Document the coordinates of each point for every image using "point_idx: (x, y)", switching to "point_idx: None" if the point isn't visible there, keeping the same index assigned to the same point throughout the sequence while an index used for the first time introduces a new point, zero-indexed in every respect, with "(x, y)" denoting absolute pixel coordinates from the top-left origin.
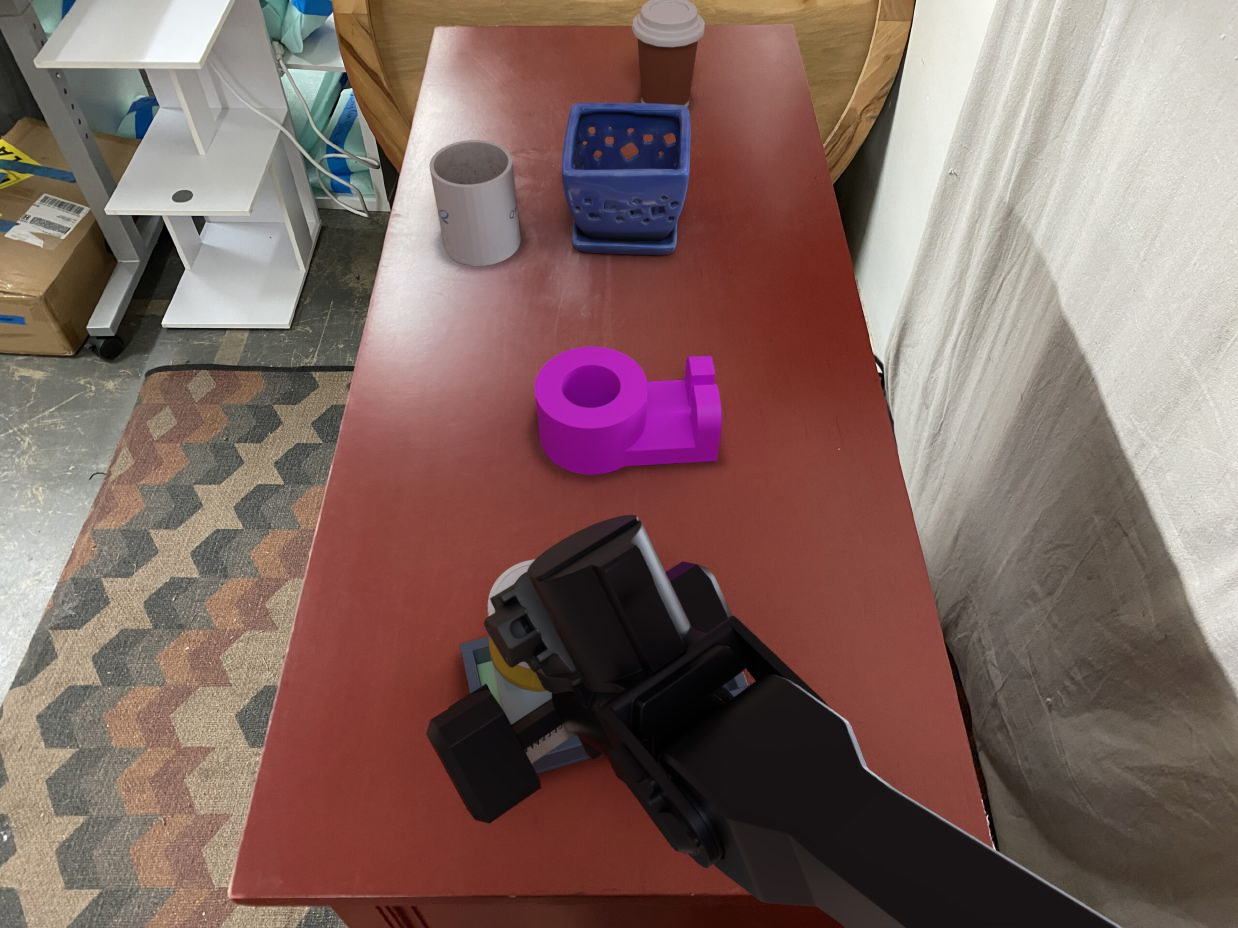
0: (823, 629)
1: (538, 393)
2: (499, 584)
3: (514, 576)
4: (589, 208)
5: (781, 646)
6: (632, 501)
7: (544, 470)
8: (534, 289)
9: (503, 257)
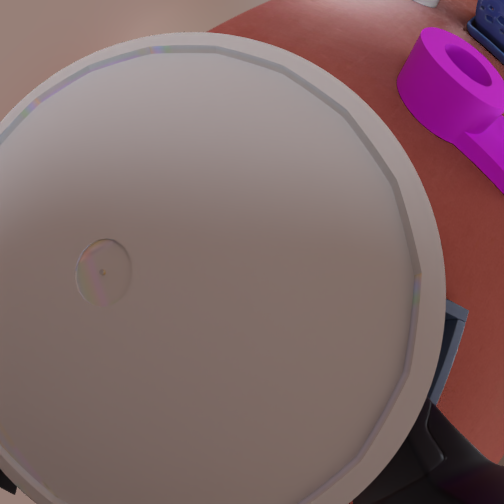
0: (484, 404)
1: (424, 34)
2: (75, 78)
3: (144, 70)
4: (489, 12)
5: (455, 402)
6: (445, 174)
7: (389, 95)
8: (435, 22)
9: (423, 3)
